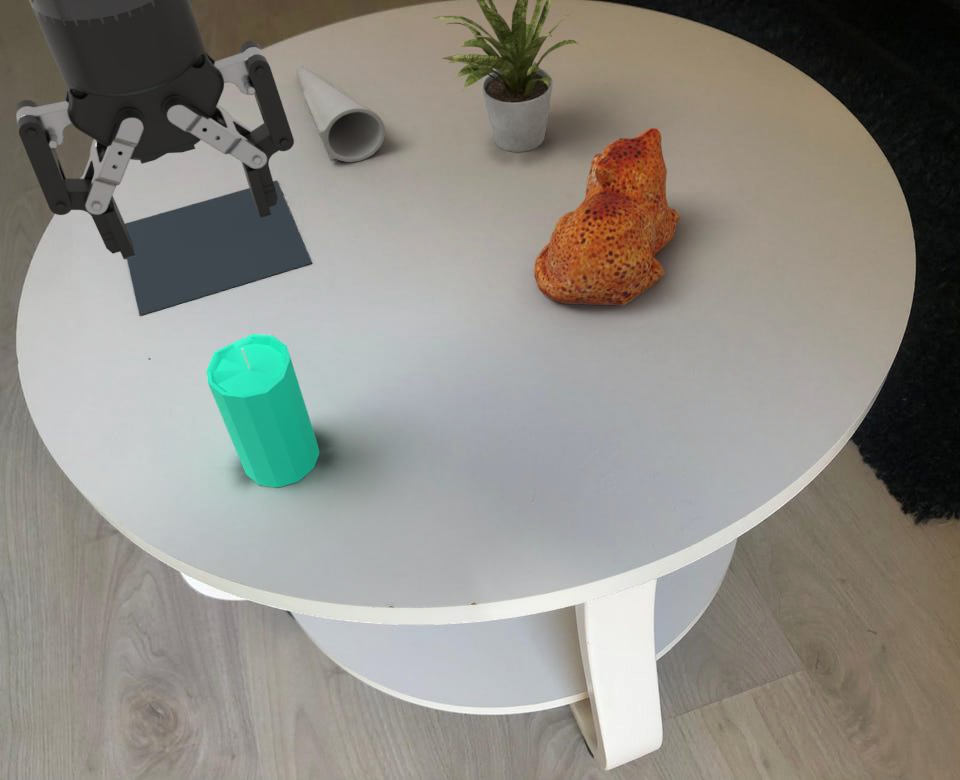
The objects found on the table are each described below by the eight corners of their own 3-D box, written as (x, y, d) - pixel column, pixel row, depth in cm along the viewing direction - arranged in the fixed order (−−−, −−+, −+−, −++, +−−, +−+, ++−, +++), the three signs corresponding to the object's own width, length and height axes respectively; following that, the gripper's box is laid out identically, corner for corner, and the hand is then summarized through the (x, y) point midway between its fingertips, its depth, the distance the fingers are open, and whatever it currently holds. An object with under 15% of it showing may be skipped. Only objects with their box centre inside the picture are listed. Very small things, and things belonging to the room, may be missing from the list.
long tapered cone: (353, 75, 116) (392, 149, 102) (302, 94, 116) (333, 170, 102) (338, 29, 112) (375, 99, 98) (284, 48, 112) (314, 121, 98)
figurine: (590, 196, 95) (592, 104, 88) (697, 225, 91) (708, 132, 84) (516, 295, 87) (511, 203, 79) (630, 333, 83) (636, 239, 75)
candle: (321, 423, 79) (289, 314, 70) (317, 484, 75) (282, 377, 66) (246, 429, 79) (204, 322, 70) (238, 490, 75) (192, 385, 66)
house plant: (462, 91, 109) (447, -58, 97) (588, 93, 107) (589, -58, 95) (438, 169, 100) (418, 16, 88) (575, 174, 98) (575, 17, 86)
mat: (139, 316, 89) (139, 315, 89) (119, 226, 98) (119, 225, 98) (311, 263, 92) (311, 262, 92) (277, 181, 101) (276, 180, 101)
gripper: (226, -84, 53) (291, 166, 65) (-46, -20, 51) (74, 228, 63) (258, -27, 49) (321, 231, 61) (-41, 47, 46) (88, 302, 58)
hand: (196, 230), depth 62 cm, fingers open, 8 cm apart
